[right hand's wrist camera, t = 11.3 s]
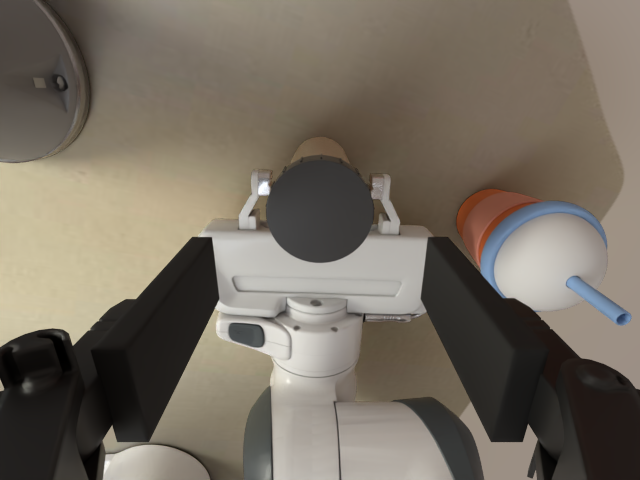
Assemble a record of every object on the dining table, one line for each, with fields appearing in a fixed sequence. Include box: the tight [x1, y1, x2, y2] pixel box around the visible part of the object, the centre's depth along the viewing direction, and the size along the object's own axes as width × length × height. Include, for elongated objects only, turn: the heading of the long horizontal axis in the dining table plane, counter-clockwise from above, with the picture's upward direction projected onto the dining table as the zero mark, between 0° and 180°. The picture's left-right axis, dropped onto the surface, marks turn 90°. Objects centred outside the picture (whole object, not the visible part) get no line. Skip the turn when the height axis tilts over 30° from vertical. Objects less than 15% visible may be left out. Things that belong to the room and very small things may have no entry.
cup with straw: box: [457, 189, 631, 325], centre depth 28 cm, size 9×9×18 cm
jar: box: [290, 137, 350, 164], centre depth 28 cm, size 5×5×15 cm
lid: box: [266, 154, 374, 263], centre depth 21 cm, size 6×6×2 cm
